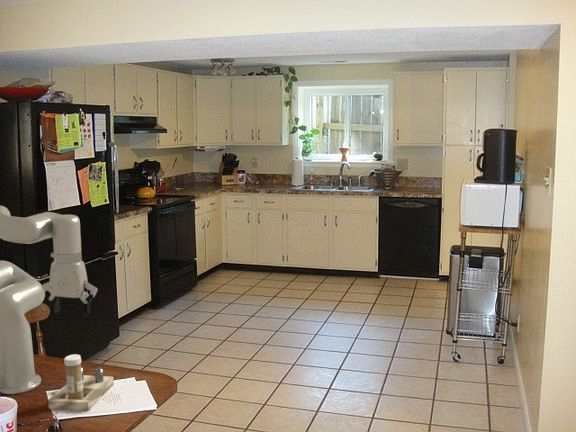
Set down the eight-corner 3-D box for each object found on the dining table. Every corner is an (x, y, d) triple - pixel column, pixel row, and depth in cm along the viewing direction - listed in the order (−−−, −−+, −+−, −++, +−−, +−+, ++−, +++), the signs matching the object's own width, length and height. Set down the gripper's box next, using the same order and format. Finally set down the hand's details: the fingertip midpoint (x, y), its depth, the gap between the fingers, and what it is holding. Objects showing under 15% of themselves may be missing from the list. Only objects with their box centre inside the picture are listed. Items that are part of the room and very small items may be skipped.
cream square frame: (48, 408, 176) (46, 387, 175) (77, 382, 193) (75, 362, 192) (88, 410, 175) (86, 389, 174) (113, 384, 191) (112, 364, 190)
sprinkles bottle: (86, 401, 180) (82, 357, 177) (70, 405, 177) (66, 361, 175) (82, 395, 184) (78, 352, 181) (66, 399, 181) (62, 356, 179)
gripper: (33, 258, 178) (37, 315, 181) (88, 262, 174) (91, 320, 177) (48, 252, 185) (51, 307, 188) (101, 256, 181) (104, 312, 185)
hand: (70, 313), depth 183 cm, fingers open, 9 cm apart
